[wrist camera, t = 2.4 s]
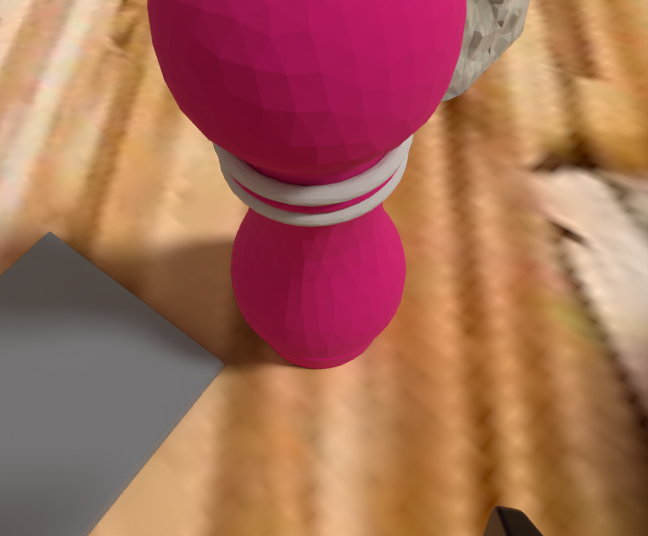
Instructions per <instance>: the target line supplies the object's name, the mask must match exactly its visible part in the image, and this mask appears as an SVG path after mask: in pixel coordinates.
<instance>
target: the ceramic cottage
mask: <svg viewBox="0 0 648 536" xmlns="http://www.w3.org/2000/svg"><path fill="white" fill-rule="evenodd" d="M529 1H530V0H467V16H466V22H465V28H464V34H463V41H462V47H461V53H460V56H459V59H458V62H457V65H456V68H455V71H454V74H453V76H452V79H451V82H450V85H449V88H448V90H447V91H446V93H445V95H444V96H443V98H442V100H441V101H440V102H443V101H446V100H449V99H451V98H454V97H456V96H458V95H460V94H462V93H463V92H464V91H465V90H468V89H469V88H470V86H471V85H472V84H473V83H474V82H475V81H476V80H477V79H478V78H479V77H480V76H481V74H482V73H483V72H484V71H486V69H487V68H488V67H489V66H490V65H491V64H493V63H494V62H495V61H496V60H498V59H499V58H500V56H501V55H502V53H503V52H504V51H505V50H506V49H508V48H509V47H510V46H511V45H512V43H513V42H514V41H515V40H516V39H517V38H518V37H519V36H520V35H521V33H522V31H523V28H524V23H525V18H526V14H527V9H528V5H529Z"/></svg>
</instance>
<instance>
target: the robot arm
mask: <svg viewBox="0 0 648 536" xmlns="http://www.w3.org/2000/svg"><path fill="white" fill-rule="evenodd" d="M483 536H543V535H542V534H541V532H540V531H539V530H538V529H537V528H536V527H535V525H534V524H533V523H532V522H531V521H530V519H529V518H528V517H527V516H526V515H525V514H524V513H523V512H522V511H520V510H518V509H514V508H509V507H504V506H495V507H494V508H493V509H492V511H491V514H490V517H489V520H488V523H487V526H486V529H485V532H484V535H483Z"/></svg>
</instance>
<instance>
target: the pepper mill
mask: <svg viewBox="0 0 648 536" xmlns="http://www.w3.org/2000/svg"><path fill="white" fill-rule="evenodd" d="M147 9H148V16H149V23H150V29H151V36H152V43H153V47H154V50H155V53H156V56H157V59H158V62H159V65H160V68H161V71H162V74H163V77H164V80H165V82H166V84H167V86H168V88H169V89H170V91H171V93H172V95H173V97H174V99H175V100H176V102H177V104H178V106H179V108H180V110H181V111H182V112H183V113H184V114H185V115H186V116H187V117H188V118H189V119H190V120H191V121H192V122H193V124H194V125H195V126H196V127H197V128H198V129H199V130H200V131H201V132H202V133H203V134H204V135H205V136H206V137H207V138H208V140H210V141H212V142H213V146H214V149H215V151H216V153H217V155H218V158H219V162H220V167H221V171H222V173H223V175H224V178H225V180H226V181H227V183H228V185H229V187H230V188H231V190H232V191H233V193H234V194H235V195H236V196H237V197H238V198H239V199H240V200H241V201H242V202H243V203H244V204H246V205H247V206H249V210H248V212H247V214H246V216H245V217H244V219H243V221H242V223H241V225H240V227H239V230H238V232H237V235H236V238H235V241H234V246H233V251H232V259H231V278H232V285H233V290H234V294H235V297H236V301H237V304H238V307H239V309H240V311H241V313H242V315H243V317H244V319H245V320H246V322H247V323H248V324H249V326H250V327H251V328H252V329H253V330H254V331H255V332H256V333H257V334H258V335H259V336H260V337H261V338H262V339H263V340H265V341H266V342H267V343H269V345H270V346H271V347H272V349H274V350H275V351H276V352H277V353H278V354H279V355H280V356H282V357H283V358H284V359H286V360H288V361H290V362H291V363H294V364H296V365H299V366H302V367H306V368H313V369H326V368H333V367H336V366H340V365H343V364H345V363H347V362H349V361H351V360H353V359H355V358H356V357H357V356H359V355H360V354H362V353H363V352H364V351H365V350H366V349H367V348H368V346H369V345H370V344H371V343H372V341H373V340H374V338H375V337H377V336H378V335H379V334H380V333H381V332H382V331H383V330H384V328H385V327H386V326H387V325H388V324H389V322H390V321H391V319H392V318H393V316H394V315H395V313H396V311H397V309H398V306H399V304H400V301H401V297H402V293H403V288H404V282H405V276H406V260H405V255H404V251H403V246H402V243H401V239H400V236H399V234H398V232H397V229H396V227H395V225H394V223H393V222H392V220H391V218H390V217H389V215H388V214H387V213H386V211H385V210H384V209H383V206H382V203H383V201H384V200H385V199H386V198H387V197H388V196H389V195H390V193H391V192H392V191H393V190H394V189H395V187H396V186H397V184H398V183H399V182H400V180H401V178H402V175H403V173H404V171H405V167H406V164H407V159H408V151H409V149H410V146H411V143H412V139H413V133H414V132H416V131H417V130H418V129H419V128H420V127H421V126H422V125H424V124H425V123H426V122H427V121H428V119H429V118H430V117H431V115H432V114H433V113H434V112H435V110H436V108H437V107H438V105H439V103H440V101H441V100H442V98H443V96H444V95H445V93H446V91H447V90H448V88H449V85H450V82H451V79H452V76H453V74H454V71H455V68H456V65H457V62H458V59H459V56H460V53H461V47H462V41H463V34H464V28H465V22H466V16H467V0H148V4H147Z"/></svg>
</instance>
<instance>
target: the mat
mask: <svg viewBox="0 0 648 536" xmlns="http://www.w3.org/2000/svg"><path fill="white" fill-rule="evenodd" d="M224 366H225V365H224V363H223V362H222V361H221V360H219V359H218V358H217V357H215V356H214V355H213V354H211V353H210V352H209V351H208V350H206V349H205V348H204V347H202V346H201V345H200V344H198V343H197V342H196V341H194V340H193V339H192V338H190V337H189V336H188V335H186V334H185V333H184V332H182V331H181V330H180V329H178V328H177V327H176V326H174V325H173V324H172V323H170V322H169V321H168V320H166V319H165V318H164V317H162V316H161V315H160V314H159V313H157V312H156V311H155V310H153V309H152V308H151V307H149V306H148V305H147V304H145V303H144V302H143V301H141V300H140V299H139V298H137V297H136V296H135V295H133V294H132V293H131V292H129V291H128V290H127V289H125V288H124V287H123V286H121V285H120V284H119V283H117V282H116V281H115V280H114V279H112V278H111V277H110V276H108V275H107V274H106V273H104V272H103V271H102V270H100V269H99V268H98V267H96V266H95V265H94V264H92V263H91V262H90V261H88V260H87V259H86V258H84V257H83V256H82V255H80V254H79V253H78V252H76V251H75V250H74V249H72V248H71V247H70V246H69V245H67V244H66V243H65V242H63V241H62V240H61V239H59V238H58V237H57V236H55V235H54V234H53V233H51V232H48V233H47V234H46V235H45V236H44V237H43V238H42V239H41V240H40V241H38V242H37V243H36V244H35V245H34V246H33V247H32V248H31V249H30V250H28V251H27V252H26V253H25V254H24V255H23V256H22V257H21V258H20V259H19V260H17V261H16V262H15V263H14V264H13V265H12V266H11V267H10V268H9V269H7V270H6V271H5V272H4V273H3V274H2V275H1V276H0V536H88V534H89V533H90V532H91V531H92V529H93V528H94V527H95V526H96V525H97V523H98V522H99V521H100V520H101V518H102V517H103V516H104V515H105V513H106V512H107V511H108V510H109V508H110V507H111V506H112V505H113V504H114V502H115V501H116V500H117V499H118V497H119V496H120V495H121V494H122V492H123V491H124V490H125V489H126V487H127V486H128V485H129V484H130V482H131V481H132V480H133V479H134V478H135V476H136V475H137V474H138V473H139V471H140V470H141V469H142V468H143V466H144V465H145V464H146V463H147V461H148V460H149V459H150V458H151V457H152V455H153V454H154V453H155V452H156V450H157V449H158V448H159V447H160V445H161V444H162V443H163V442H164V440H165V439H166V438H167V437H168V435H169V434H170V433H171V432H172V431H173V429H174V428H175V427H176V426H177V424H178V423H179V422H180V421H181V419H182V418H183V417H184V416H185V414H186V413H187V412H188V411H189V410H190V408H191V407H192V406H193V405H194V403H195V402H196V401H197V400H198V398H199V397H200V396H201V395H202V393H203V392H204V391H205V390H206V388H207V387H208V386H209V385H210V384H211V382H212V381H213V380H214V379H215V377H216V376H217V375H218V374H219V372H220V371H221V370H222V369H223V367H224Z"/></svg>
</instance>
